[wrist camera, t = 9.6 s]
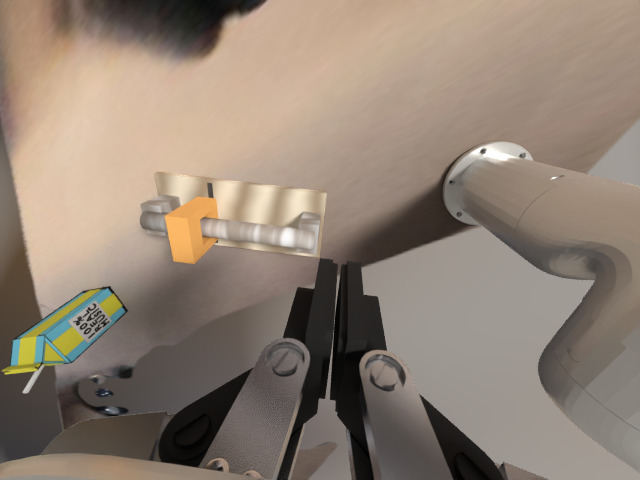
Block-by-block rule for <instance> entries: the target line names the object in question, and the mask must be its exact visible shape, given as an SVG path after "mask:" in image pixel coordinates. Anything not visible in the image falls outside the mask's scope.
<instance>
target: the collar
mask: <svg viewBox="0 0 640 480" xmlns="http://www.w3.org/2000/svg"><path fill="white" fill-rule="evenodd" d="M203 217H208V218H216V219H218V211H217V200H216V199H215V198H207V197H199V196H198V197H196V198H194V199H193V200H191V201H189V202H187V203H186V204H184V205H182V206H180V207H179V208H177V209H175V210H174V211H172V212H170V213H168V214H167V215H165V221H166V226H167V231H168V235H169V240H170V245H171V250H172V255H173V260H174V261H175V262H183V263H191V264H195V263H196V262H197V261H198V260H199V259H200V258H201V257H202V256H203V255H204V254H205V253H206V251H207V250H208V249H209V248H210V247H211V246H212V245H213V244H214V243H215V242H216V241H217V240H218V239H219V238H211V237H203V236H202V233H201V225H200V219H202V218H203Z"/></svg>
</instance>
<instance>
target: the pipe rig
mask: <svg viewBox="0 0 640 480" xmlns="http://www.w3.org/2000/svg"><path fill="white" fill-rule="evenodd" d="M155 178H156V183H157V188H158V193H159V196H157V197H155V198H153V199H151V200H148V201H146V202H144V203H142V204H140V205H141V209H142V215H141V217H140V224H141V226H142V228H143V229H146V230H147V233H148V234H151V235H160V236H167V237H168V239H169V235H168V231H167V226H166V221H165V215H167V214H168V213H170V212H172V211H174V210H175V209H177V208H179V207H180V206H182V205H184V204H186V203H187V202H189V201H191V200H193V199H194V198H196V197H198V196H199V197H207V198H215V199H216V200H217V211H218V219H216V218H208V217H203V218H202V219H200V225H201V233H202V236H203V237H211V238H219V239H218V240H217V241H216V242H215V243H214V244H213V245H220V246H229V247H237V248H245V249H253V250H261V251H269V252H277V253H285V254H294V255H302V256H310V257H318V258H319V257H320V248H321V240H322V231H323V222H324V214H325V205H326V196H327V192H324V191H316V190H307V189H299V188H291V187H282V186H274V185H265V184H257V183H248V182H240V181H231V180H223V179H214V178H206V177H197V176H189V175H180V174H172V173H164V172H157V173H155Z"/></svg>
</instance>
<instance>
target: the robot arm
mask: <svg viewBox="0 0 640 480" xmlns="http://www.w3.org/2000/svg"><path fill="white" fill-rule="evenodd" d="M481 149H482V151H481V152H480V150H481ZM519 155H520V156H519ZM450 180H451V182H450ZM449 182H450V183H449ZM443 201H444V204H445V206H446V208H447V210H448V211H449V212H450V214H451V215H452V216H453V217H455V218H456V219H457V220H459V221H461V222H463V223H466V224H470V225H482V226H483V227H484V228H486V229H487V230H488V231H490V232H491V233H492V234H493V235H495V236H496V237H497V238H498V239H500V240H501V241H502V242H504V243H505V244H506V245H508V246H509V247H510V248H511V249H513V250H514V251H515V252H516V253H518V254H519V255H520V256H521V257H523V258H524V259H525V260H527V261H528V262H529V263H531V264H532V265H534V266H535V267H536V268H538V269H540V270H541V271H543V272H546V273H548V274H551V275H554V276H557V277H561V278H567V279H575V280H595V281H594V283H593V285H592V286H591V288H590V289H589V291H588V292H587V293H586V295H585V296H584V297H583V299H582V302H581V303H580V304H579V305H578V307H577V308H576V309H575V310H574V312H573V313H572V314H571V315H570V317H569V318H568V319H567V320H566V321H565V323H564V324H563V325H562V326H561V328H560V329H559V330H558V331H557V333H556V334H555V335H554V337H553V338H552V339H551V341H550V342H549V343H548V345H547V346H546V347H545V349H544V351H543V352H542V354H541V356H540V359H539V362H538V374H539V378H540V381H541V384H542V386H543V388H544V390H545V391H546V393H547V394H548V396H549V397H550V399H551V400H552V401H553V402H554V404H555V405H556V406H557V407H558V408H559V409H560V411H561V412H562V413H563V414H564V415H565V416H566V417H567V418H568V419H569V420H570V421H572V422H573V423H574V424H575V425H576V426H577V427H578V428H579V429H581V430H582V431H583V432H584V433H585V434H586V435H588V436H589V437H590V438H592V439H593V440H594V441H596V442H597V443H598V444H599V445H601V446H602V447H604V448H605V449H606V450H607V451H609V452H610V453H612V454H613V455H615V456H616V457H617V458H619V459H620V460H622V461H623V462H624V463H626V464H627V465H629V466H631V467H632V468H633V469H635V470H636V471H638V472H639V473H640V186H636V185H632V184H627V183H623V182H618V181H614V180H610V179H606V178H601V177H596V176H592V175H588V174H584V173H580V172H576V171H572V170H568V169H563V168H559V167H555V166H551V165H547V164H543V163H539V162H535V161H533V158H532V157H531V155H530V154H529V152H528V151H526V150H525V149H524V148H523V147H521V146H519V145H517V144H514V143H510V142H503V141H495V142H488V143H484V144H481V145H479V146H477V147H474V148H472V149H471V150H469V151H468V152H466V153H465V154H463V155H462V156H461V157H460V158H459V159H458V160H457V161H456V162H455V163H454V165H453V166H452V167H451V169H450V170H449V172H448V174H447V176H446V178H445V181H444V185H443ZM337 268H338V264H335V263H333V260H330V259H321V258H320V262H319V267H318V272H317V278H316V283H315V288H314V289H308V288H300V287H298V288H297V291H296V294H295V298H294V301H293V305H292V308H291V312H290V315H289V318H288V322H287V325H286V329H285V332H284V336H283V338H282V339H277V340H275V341H273V342H271V343H270V344H268V345H267V346H266V347H265V348H264V350H263V351H262V352H261V354H260V356H259V358H258V360H257V362H256V364H255V365H254V367H253V368H252V369H250V370H248V371H247V372H245V373H243V374H241V375H240V376H238V377H236V378H235V379H233V380H231V381H229V382H228V383H226V384H224V385H223V386H221V387H219V388H218V389H216V390H214V391H212V392H211V393H209V394H207V395H206V396H204V397H202V398H200V399H199V400H197V401H195V402H193V403H192V404H190V405H188V406H187V407H185V408H184V409H182V410H181V411H180V412H178V413H177V414H169V415H168V413H167V411H162V412H153V413H143V414H134V415H124V416H115V417H105V418H96V419H89V420H86V421H82V422H79V423H77V424H75V425H73V426H71V427H69V428H67V429H66V430H65V431H63V432H62V433H61V434H60V435H58V436H57V437H56V438H55V439H54V440H53V441H52V442H51V443H50V444H49V445H48V446H47V448H46V449H45V450H44V451H43V453H42V454H41V455H40V456H33V457H28V458H23V459H19V460H14V461H9V462H5V463H3V464H0V480H290V479H291V475H292V472H293V468H294V464H295V461H296V457H297V453H298V450H299V446H300V443H301V439H302V435H303V432H304V428H305V423H306V422H307V421H308V420H309V419H310V418H312V417H313V416H314V415H315V414H316V413H317V409H318V400H319V398H321V399H325V394H326V386H327V379H328V372H329V363H330V356H331V349H332V340H333V330H334V341H333V358H332V374H331V389H330V390H331V391H330V400H335V401H336V409H335V411H336V412H337V413H338V414H337V416H338V417H339V419H340V420H341V421H342V422H343V424H344V425H345V426H346V437H347V445H348V453H349V461H350V469H351V477H352V480H548V479H546V478H543V477H540V476H538V475H536V474H533V473H531V472H528V471H525V470H523V469H520V468H518V467H515V466H513V465H510V464H508V463H505V462H503V463H502V464H501V465H499V464H497V463H494V462H493V461H492V460H491V459H490V458H489V457H488V456H487V455H486V453H485V452H483V451H482V450H481V449H480V448H479V447H478V446H477V445H476V444H474V442H472V441H471V440H470V439H469V438H468V437H467V436H466V435H465V434H463V433H462V432H461V431H460V430H459V429H458V428H457V427H455V425H453V424H452V423H451V422H450V421H449V420H448V419H447V418H446V417H444V416H443V415H442V414H441V413H440V412H439V411H438V410H437V409H436V408H434V407H433V406H432V405H431V404H430V403H429V402H428V401H427V400H425V399H424V398H423V397H422V396H421V395H420V394H419V393H418V390H417V388H416V385H415V383H414V380H413V378H412V375H411V373H410V371H409V369H408V367H407V365H406V364H405V363H404V362H403V361H402V360H401V359H400V358H399V357H397V356H396V355H394V354H393V353H390V352H388V351H387V348H386V342H385V336H384V330H383V324H382V318H381V312H380V306H379V301H378V297H377V296H368V295H363V284H362V273H361V263H358V262H349V261H347V265H344V264H342V266H341V274H340V282H339V290H338V297H337V305H336V314H335V298H336V283H337ZM334 315H335V324H334Z"/></svg>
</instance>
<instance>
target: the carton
mask: <svg viewBox="0 0 640 480" xmlns="http://www.w3.org/2000/svg"><path fill="white" fill-rule="evenodd" d="M127 311H128V310H127V309H126V307H125V306H124V305H123V303H122V302H121V301H120V299H119V298H118V297H117V295H116V294H115V293H114V291H113V290H112V289H111V287H110V286H109V287H103V288H98V289H92V290H86V291H83V292H81V293H80V294H78V295H77V296H75V297H74V298H73V299H71V300H70V301H68V302H67V303H65V304H64V305H62V306H61V307H60V308H58V309H57V310H55V311H54V312H52V313H51V314H49V315H48V316H47V317H45V318H44V319H42V320H41V321H39V322H38V323H36V324H35V325H33V326H32V327H31V328H29V329H28V330H26V331H25V332H23V333H22V334H21V335H19V336H18V337H16V338H15V339H13V341H12V350H11V359H10V367H8V368H6V369H4V370H2V371H4V372H5V374H12V373H21V372H30V371H35V373H34V374H33V376H32V378H31V379H30V381H29V382H28V384H27V386H26V387H25V389H24V391H23V393H28V392H29V391H30V389H31V387H32V386H33V384H34V382H35V380H36V379H37V377H38V376H39V374H40V372H41V371H42V369H43V367H44V366H51V365H59V364H68V363H72V362H74V361H75V360H76V359H77V358H78V357H79V356H80V355H81V354H82V353H83V352H84V351H85V350H86V349H87V348H89V347H90V346H91V345H92V344H93V343H94V342H95V341H96V340H97V339H98V338H99V337H100V336H101V335H103V334H104V333H105V332H106V331H107V330H108V329H109V328H110V327H111V326H112V325H113V324H114V323H116V322H117V321H118V320H119V319H120V318H121V317H122V316H123V315H124V314H125V313H126V312H127Z"/></svg>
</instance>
